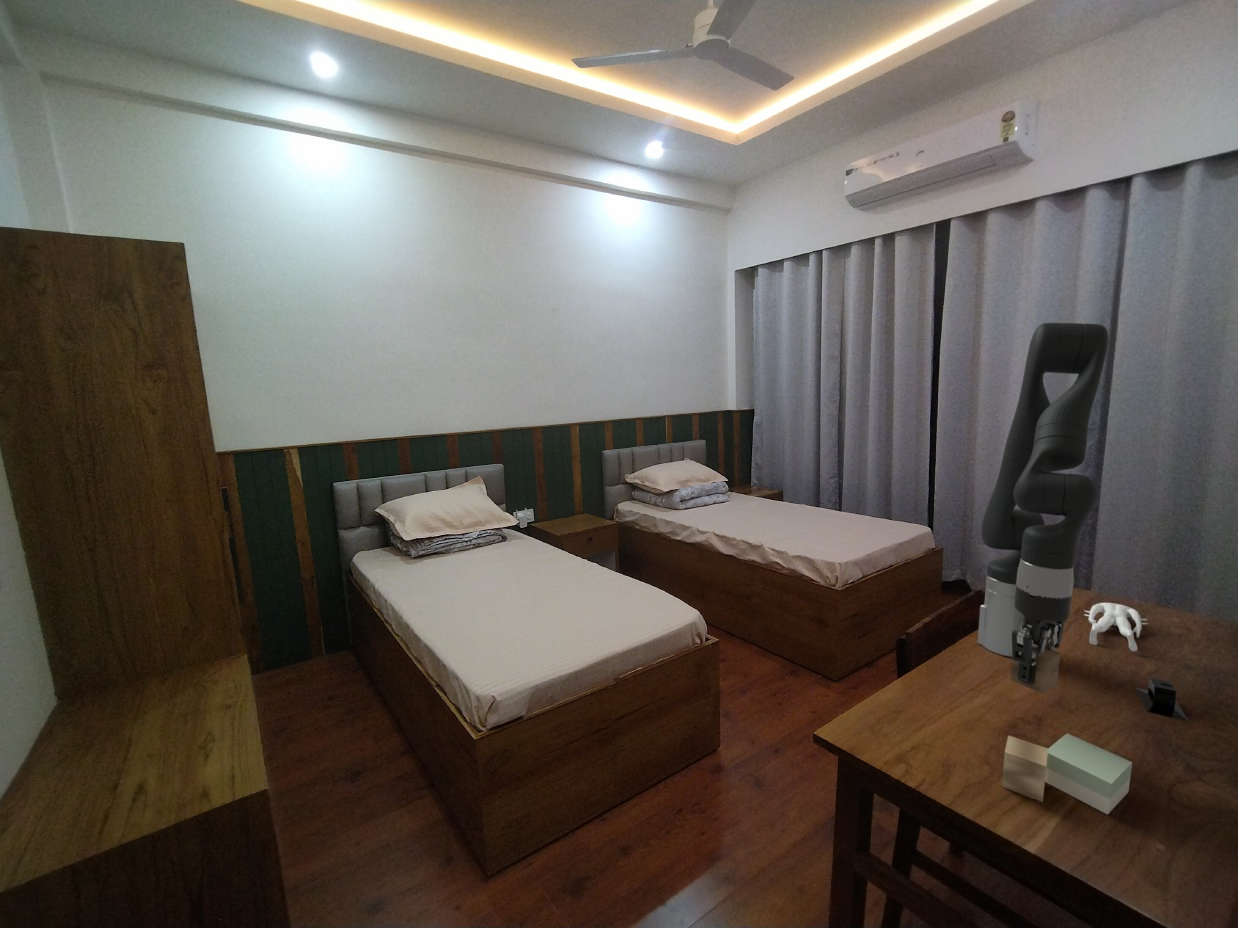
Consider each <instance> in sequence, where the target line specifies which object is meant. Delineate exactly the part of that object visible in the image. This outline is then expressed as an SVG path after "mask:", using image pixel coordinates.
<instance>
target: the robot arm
mask: <svg viewBox="0 0 1238 928" xmlns="http://www.w3.org/2000/svg"><path fill="white" fill-rule="evenodd" d="M1108 333H1109V332H1108V330H1107V327H1106V326H1104V325H1102V324H1097V323H1082V322H1081V323H1078V322H1077V323H1076V322H1044V323H1041V324H1039V325H1038V326H1037V327H1036V328H1035V330H1034V332H1033V334H1032V336H1031V338H1030V339H1031V340H1030V343H1029V346H1028V347H1029V348H1028V352H1027V355H1026V359H1025V360H1026V361H1025V367H1024V372H1023V378H1022V383H1021V387H1020V388H1021V389H1020V392H1019V393H1020V394H1019V397H1018V401H1017V406H1016V408H1015V412H1014V416H1013V420H1012V422H1011V425H1010V429H1009V432H1008V436H1007V438H1006V442H1005V447H1004V449H1003V453H1002V454H1003V455H1002V461H1001V465H1000V469H999V472H998V475H997V480H996V484H995V486H994V488H993V492H992V494H991V496H990V499H989V501H988V505H987V507H986V510H985V513H984V515H983V519H982V522H981V533H980V534H981V538H982V541H983V543H984V545H985V546H987V547H988V548H991V549H995V550H1007V551H1013V552H1011V553H1010V554H1008V555H1006V556H1002V557H1000V558H996V559H994V560H991V561H990V562H989V563H988V564H987V567H986V579H985V580H986V583H985V594H984V603H983V604H981V605H980V607H979V619H978V630H977V631H978V633H977V634H978V635H977V644H979V645H982V647H984V648H985V649H987V650H988V651H990V652H993V653H995V654H998V655H1001V656H1005V657H1010V658H1012V657H1013V660H1015V661H1018V662H1020V664H1019V673H1018V679H1019V680H1020V681H1022V682H1024V683H1027V684H1029V685H1032V684H1034V682H1035V673H1036V664H1037V660H1038V657H1039V654H1042V653H1043V652H1044V649H1045V648H1048V649H1049V650H1053V651H1056V650H1058V649H1059V648H1060V645H1061V640H1062V636H1063V631H1064V627H1065V623H1066V620H1068V619H1069V617H1070V615H1071V607H1072V599H1073V590H1074V582H1075V579H1074V578H1075V575H1074V565H1075V556H1076V550H1077V549H1076V548H1077V544H1078V540H1079V535H1080V533H1081V531H1082V529H1083V526H1084V525H1085V522H1086V520H1087V518H1088V517H1089V515H1090V513H1091V511H1092V510H1093V508H1094V506H1095V504H1096V501H1097V499H1098V487H1097V486H1096V482H1095V481H1093V479H1091V477H1089V476H1086V475H1083V474H1078V473H1077V474H1076V473H1075V474H1074V473H1061V472H1058V471H1066V470H1071V469H1075V468H1077V467H1080V466H1081V465H1082V464H1083V463H1084V461H1085V458H1086V452H1087V443H1088V434H1089V433H1088V431H1089V424H1090V423H1089V422H1090V417H1091V412H1092V410H1093V409H1092V408H1093V405H1094V402H1095V398H1096V396H1097V393H1098V389H1099V385H1100V380H1101V376H1102V372H1103V369H1104V365H1105V360H1106V355H1107V353H1108V352H1107V351H1108V345H1109V334H1108ZM1045 373H1055V374H1067V375H1068V374H1071V375H1077V378H1076V380H1075V381H1074V383H1073V384H1072V385H1071V386H1070V387H1069V388H1068V389H1067V390H1066V391H1065V392H1063V393H1062V395H1060V396H1059V397H1058V398H1057V399H1055V400H1054V401H1053V402H1052V403H1050V400H1049V397H1048V395H1047V392H1046V388H1045V385H1044V375H1045ZM1016 506H1017V507H1018V508H1019V509H1018V508H1016ZM1042 515H1050V516H1061V517H1064V518H1063V519H1062V520H1060V521H1058V522H1057V523H1054V524H1045V519H1044V517H1043V516H1042ZM1032 644H1035V645H1038V647H1037V648H1036V647H1034V646H1032ZM1055 649H1056V650H1055ZM1032 652H1033V655H1032Z"/></svg>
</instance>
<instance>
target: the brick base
mask: <svg viewBox="0 0 1238 928" xmlns="http://www.w3.org/2000/svg"><path fill="white" fill-rule="evenodd" d="M1047 748H1048V747H1047ZM1132 768H1133V761H1130V760H1128V759H1126V758H1123V757H1121V756H1119V755H1117V754H1114V753H1113V752H1110V751H1108V750H1105V749H1104V748H1102V747H1099V746H1096V745H1094V744H1092V743H1090V742H1088V741H1085V740H1084V739H1082V738H1079V737H1077V736H1075V735H1073V734H1069V733H1066V734H1064V735H1063V736H1061V737H1060V738H1059V739H1058V740H1056V742H1055V743H1053V744H1051V746H1049V748H1048V754H1047V765H1046V775H1045V783H1047V784H1048V785H1051V786H1052V787H1055V788H1057V789H1058V790H1059V791H1062V792H1063V793H1066V794H1067V795H1069V796H1071V797H1074V798H1076V799H1077V800H1079V801H1081V802H1083V803H1085V804H1087V805H1089V806H1090V807H1092V808H1094V809H1096V810H1098V811H1099V812H1102V813H1104V814H1106V815H1109V814H1110V813H1111V812H1112V811H1113V810H1114V808H1115V807H1116V806H1117V805H1118V804H1119V803H1120V802H1121V801H1122V799H1124V798H1125V796H1126V795H1127V794H1129V790H1130V782H1131V777H1132V776H1131V775H1132Z"/></svg>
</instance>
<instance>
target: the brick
mask: <svg viewBox="0 0 1238 928" xmlns="http://www.w3.org/2000/svg"><path fill="white" fill-rule="evenodd" d="M1006 740H1007V741H1006V744H1005V749H1004V756H1003V768H1002V781H1001V787H1003V788H1005V789H1006V790H1007V789H1008V790H1010V791H1012V792H1015V793H1018V794H1019V795H1022V796H1025V797H1028V798H1030V799H1033V800H1035V799H1037V800H1036V801H1038V800H1039V802H1040V801H1041V803H1043V802H1044V794H1045V785H1046V784H1045V783H1046V782H1045V775H1046V765H1047V754H1048V747H1044V746H1042V745H1038V744H1035V743H1032V742H1029V741H1026V740H1023V739H1020V738H1017V737H1015V736H1012V735H1008V736H1007V739H1006Z"/></svg>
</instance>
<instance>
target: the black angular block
mask: <svg viewBox="0 0 1238 928" xmlns="http://www.w3.org/2000/svg"><path fill="white" fill-rule="evenodd" d="M1147 688H1148V689H1144V688H1140V687H1135V690H1136V692H1137V694H1138V696H1139V699H1140V701H1141V703H1142V705H1143V707H1144V709H1145V711H1146V712H1147V713H1150V714H1155V715H1160V716H1162V717H1167V718H1171V719H1176V720H1181V721H1185V722H1189V719H1188V717H1187V716H1186V714H1185V712H1184V710H1183V709H1182V708H1181V706H1180V704H1179V703H1178V701H1177V690H1176V688H1175V687H1174V685H1173V684H1172V681H1167V680H1161V679H1157V678H1153V677H1150V678H1149V681H1148V686H1147Z"/></svg>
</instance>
